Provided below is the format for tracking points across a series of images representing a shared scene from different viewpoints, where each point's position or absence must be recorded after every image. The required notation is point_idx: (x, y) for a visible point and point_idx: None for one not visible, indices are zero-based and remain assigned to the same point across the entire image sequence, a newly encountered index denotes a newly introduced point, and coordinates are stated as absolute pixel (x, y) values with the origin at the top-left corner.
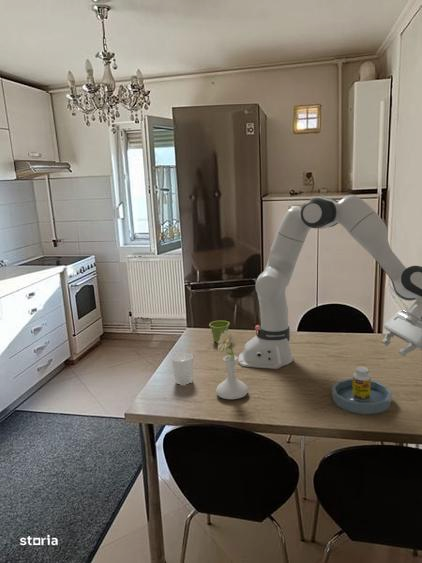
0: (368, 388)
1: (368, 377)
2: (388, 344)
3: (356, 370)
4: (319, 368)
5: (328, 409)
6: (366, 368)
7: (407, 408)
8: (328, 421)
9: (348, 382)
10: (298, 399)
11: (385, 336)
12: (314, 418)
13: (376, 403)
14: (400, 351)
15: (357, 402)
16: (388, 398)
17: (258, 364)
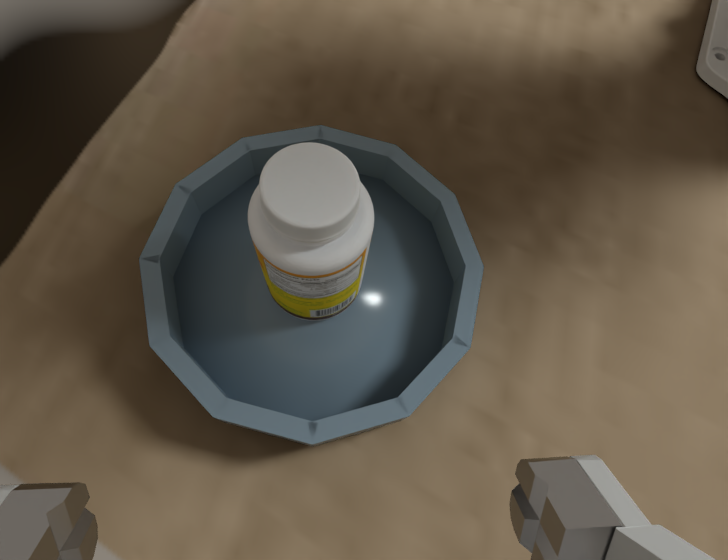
0: (260, 264)
1: (257, 231)
2: (524, 544)
3: (309, 143)
4: (709, 247)
5: (281, 120)
6: (311, 218)
7: (147, 492)
8: (191, 84)
9: (457, 263)
10: (397, 54)
11: (686, 547)
12: (232, 50)
13: (145, 266)
14: (25, 496)
15: (198, 183)
16: (170, 365)
17: (726, 9)
